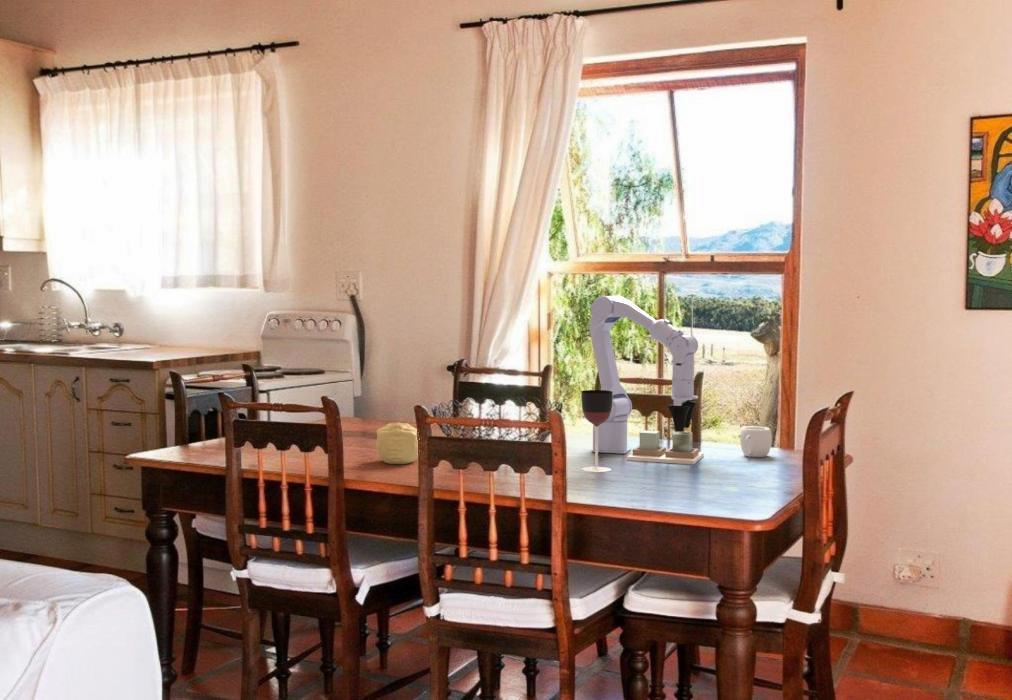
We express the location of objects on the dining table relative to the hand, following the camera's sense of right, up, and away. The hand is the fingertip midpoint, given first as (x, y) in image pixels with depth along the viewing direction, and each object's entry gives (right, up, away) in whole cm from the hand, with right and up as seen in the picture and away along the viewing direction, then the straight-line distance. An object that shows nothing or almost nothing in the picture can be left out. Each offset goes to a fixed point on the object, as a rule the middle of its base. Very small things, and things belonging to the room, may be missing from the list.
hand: (682, 429), depth 282 cm
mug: (+20, -8, +5) cm, 22 cm away
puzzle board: (-4, -8, +2) cm, 9 cm away
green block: (0, -7, 0) cm, 7 cm away
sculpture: (-76, -9, -5) cm, 77 cm away
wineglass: (-24, -9, -15) cm, 30 cm away
